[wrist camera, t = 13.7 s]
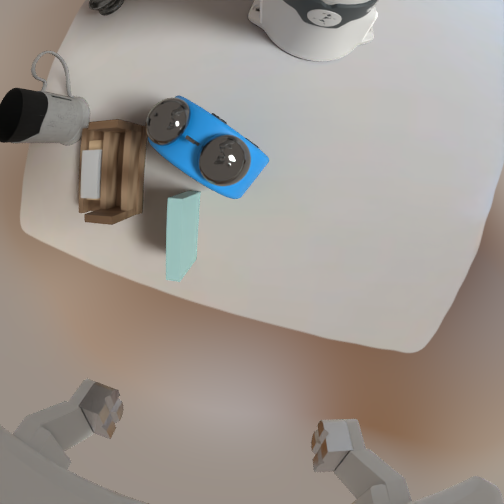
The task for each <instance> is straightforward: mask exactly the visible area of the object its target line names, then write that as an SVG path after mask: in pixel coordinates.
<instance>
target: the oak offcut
mask: <svg viewBox="0 0 504 504" xmlns="http://www.w3.org/2000/svg"><path fill="white" fill-rule="evenodd" d="M89 150H103V140H94V141H89ZM87 200H100V198H98V199H92V198H87Z"/></svg>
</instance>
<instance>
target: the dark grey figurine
mask: <svg viewBox="0 0 504 504" xmlns="http://www.w3.org/2000/svg"><path fill="white" fill-rule="evenodd" d="M123 1H124V0H90V2H89V7H90V8H91V9H93V10H99V12H100V14H102V15H108V14H111V13H113V12H114V11H116V10H117V9H118V8H119V7H120V6H121V5H122V3H123Z"/></svg>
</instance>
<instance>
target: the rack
mask: <svg viewBox="0 0 504 504" xmlns="http://www.w3.org/2000/svg"><path fill="white" fill-rule="evenodd" d="M94 140H103V152H102V167H101V196H100V200H87V198H81V167H82V151H83V150H89V141H94ZM146 144H147V133H146V129H145V126H142V125H138V124H134V123H131V122H127V121H123V120H119V119H116V120H106V121H96V122H89V127H88V128H83V129H82V138H81V150H80V165H79V213H85V212H88V211H93V212H90V213H87V214H85V222H91V223H101V224H111V225H113V224H115V223H117V222H120V221H122V220H124V219H127V218H129V217H131V216H134V215H136V214H140V213H142V208H143V183H144V167H145V154H146Z"/></svg>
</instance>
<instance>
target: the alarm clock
mask: <svg viewBox="0 0 504 504" xmlns="http://www.w3.org/2000/svg"><path fill="white" fill-rule="evenodd" d="M226 124H227V123H226V122H225V121H224V120H222V119H220V118H219V117H218V116H216V115H215V114H214V113H212V114H210V113H209V112H207V111H206V110H204V109H203V108H201V107H199V106H198V105H196V104H195V103H193V102H191V101H189V100H188V99H186V98H184V97H182V96H176V97H175V98H167V99H164V100H162V101H160V102H158V103H157V104H156V105H155V106H154V107H153V108H152V109H151V110H150V112H149V114H148V116H147V119H146V125H145V129H146V133H147V136H148V140H149V143H150V144H151V145H152V147H153V148H154V149H155V150H156V151H157V152H158V153H159V154H160V155H162V156H163V157H164V158H165V159H166V160H168V161H169V162H170V163H172V164H173V165H174V166H176V167H177V168H178V169H180V170H181V171H183V172H184V173H186V174H187V175H188V176H190V177H192V178H193V179H195V180H196V181H198V182H199V183H201V184H203V185H204V186H206V187H208V188H210V189H211V190H213V191H215V192H217V193H219V194H221V195H223V196H226V197H228V198H232V199H238V198H240V197H242V195H243V194H244V193H245V191H246V190H247V189H248V188H249V186H250V185H251V184H252V182H253V181H254V180H255V179H256V177H257V176H258V175H259V174H260V172H261V171H262V170H263V168H264V167H265V166H266V165H267V163H268V162H269V158H268V157H267V156H266V155H265V154H264V153H263V152H262V151H261V150H260V149H258V148H259V147H258V146H256V145H255V144H253V143H252V142H250V140H248V139H247V138H244V137H243V136H242V135H240V134H239V133H238V132H236V131H235V130H234V129H232V128H231V127H229V126H228V125H226Z"/></svg>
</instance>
